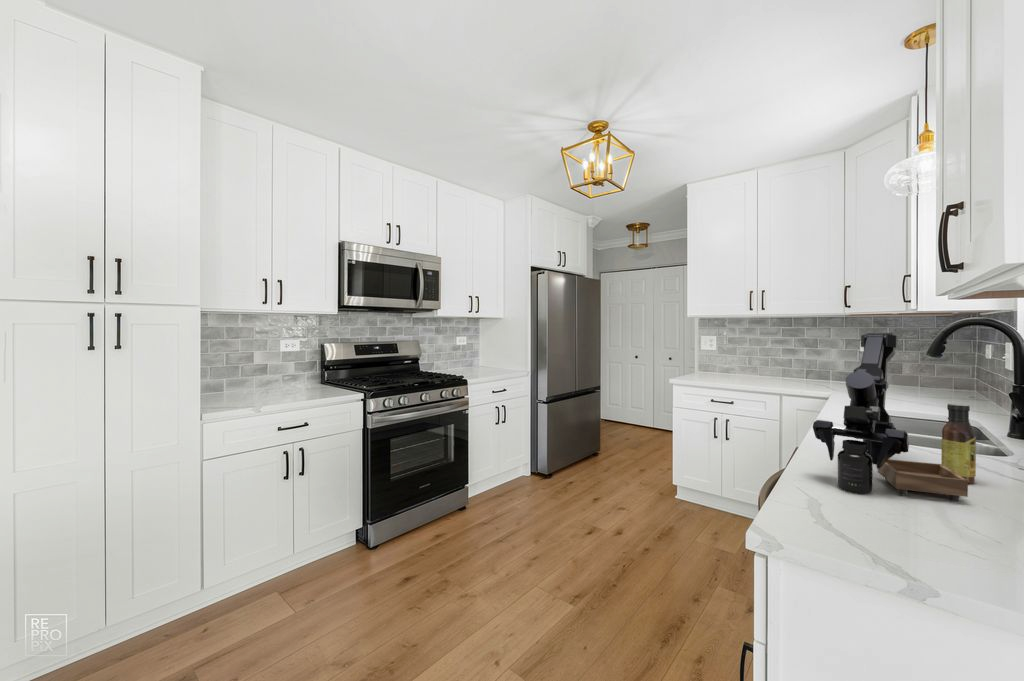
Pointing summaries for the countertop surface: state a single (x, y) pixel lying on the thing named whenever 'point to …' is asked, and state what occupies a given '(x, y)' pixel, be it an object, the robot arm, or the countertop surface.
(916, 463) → the square wooden tray
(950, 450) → the sauce bottle
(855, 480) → the supplement bottle
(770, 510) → the countertop surface
